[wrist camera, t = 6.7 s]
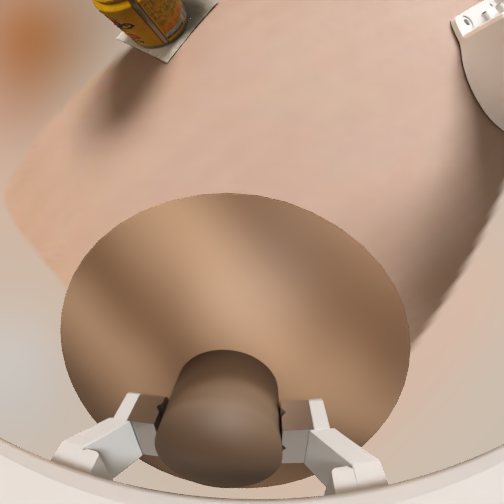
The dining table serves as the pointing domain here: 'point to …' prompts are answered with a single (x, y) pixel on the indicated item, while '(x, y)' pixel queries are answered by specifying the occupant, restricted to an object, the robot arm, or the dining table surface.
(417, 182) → the dining table surface
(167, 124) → the dining table surface
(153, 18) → the condiment
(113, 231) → the lid
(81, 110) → the dining table surface
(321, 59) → the dining table surface
